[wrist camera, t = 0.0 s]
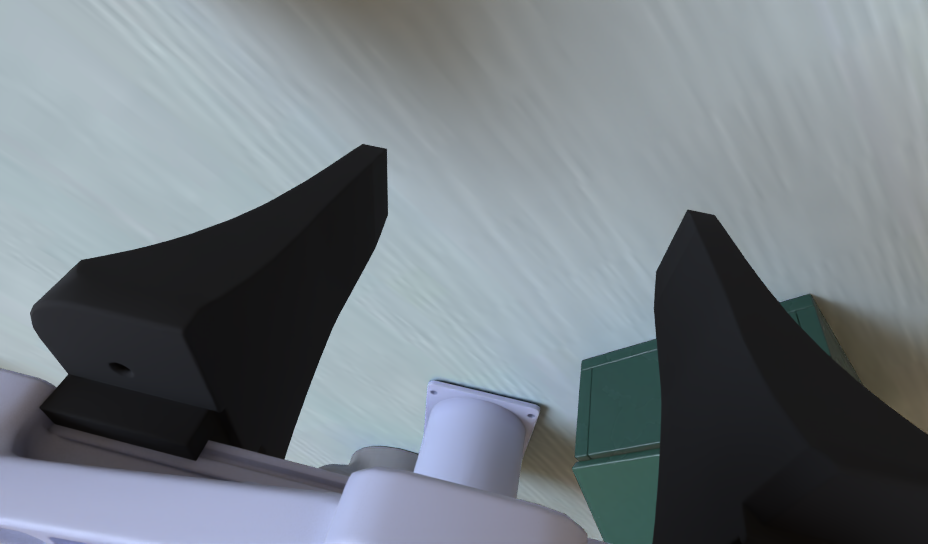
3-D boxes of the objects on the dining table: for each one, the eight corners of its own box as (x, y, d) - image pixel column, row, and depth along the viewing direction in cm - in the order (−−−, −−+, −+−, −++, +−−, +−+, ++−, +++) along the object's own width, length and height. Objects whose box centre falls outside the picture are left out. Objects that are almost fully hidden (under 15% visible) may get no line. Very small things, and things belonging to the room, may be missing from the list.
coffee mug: (474, 494, 50) (449, 616, 43) (397, 501, 55) (364, 610, 48) (382, 418, 43) (335, 547, 36) (304, 434, 49) (250, 549, 42)
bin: (877, 409, 30) (920, 524, 26) (663, 445, 37) (668, 540, 33) (810, 292, 25) (848, 409, 21) (581, 360, 33) (574, 457, 28)
